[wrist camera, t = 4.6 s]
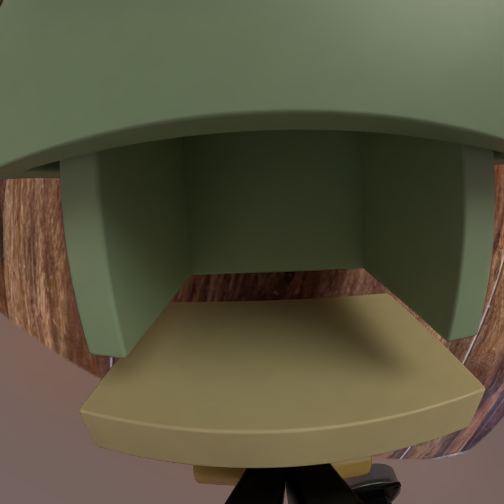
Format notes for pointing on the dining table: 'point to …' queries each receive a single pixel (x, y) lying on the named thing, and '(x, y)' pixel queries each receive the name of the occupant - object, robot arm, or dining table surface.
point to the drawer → (278, 311)
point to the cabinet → (243, 72)
